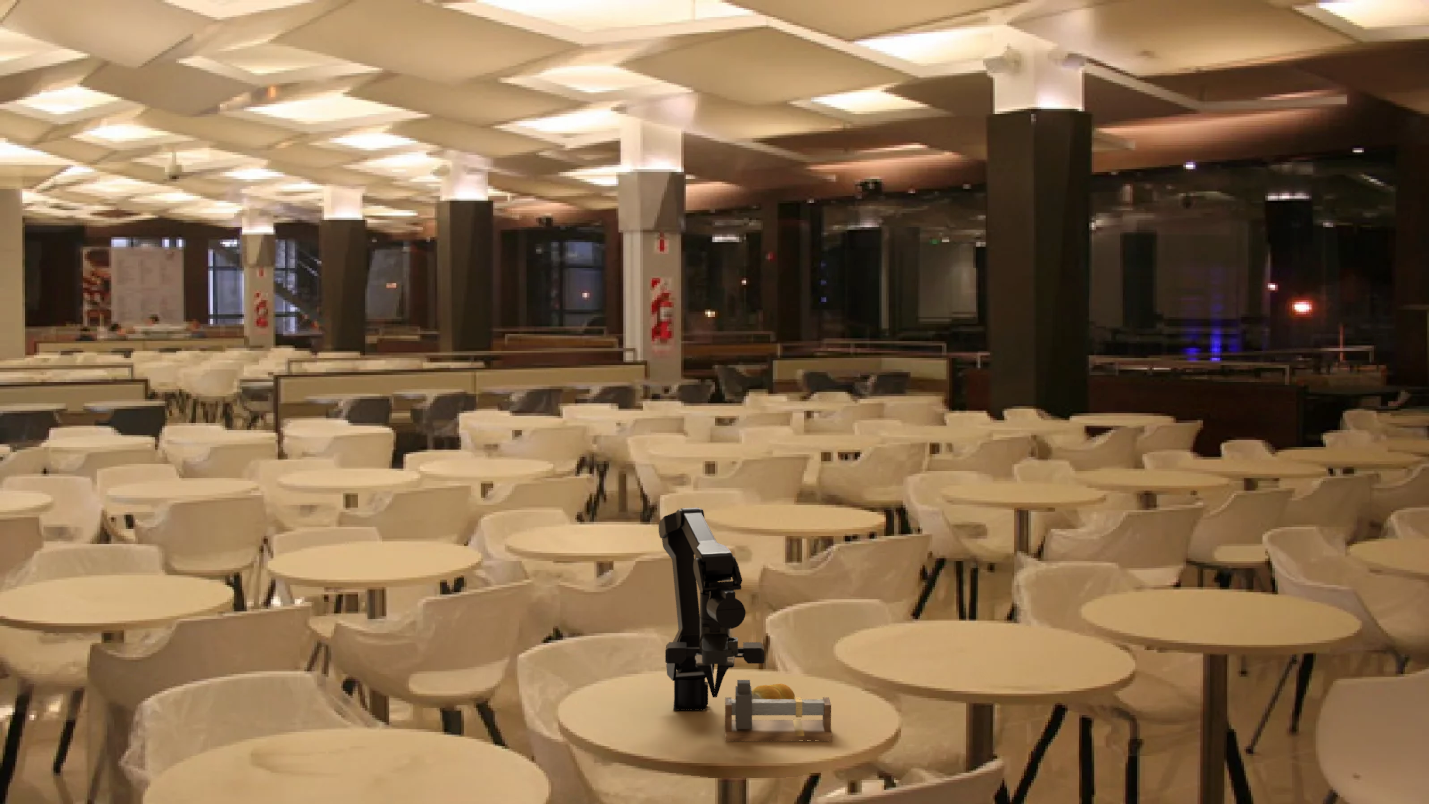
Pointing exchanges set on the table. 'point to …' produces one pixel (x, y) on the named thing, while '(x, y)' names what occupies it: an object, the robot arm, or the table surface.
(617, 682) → the table surface
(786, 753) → the table surface
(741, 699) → the grey stepped block
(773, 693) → the bread roll
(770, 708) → the brushed metal beam
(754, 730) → the stand
